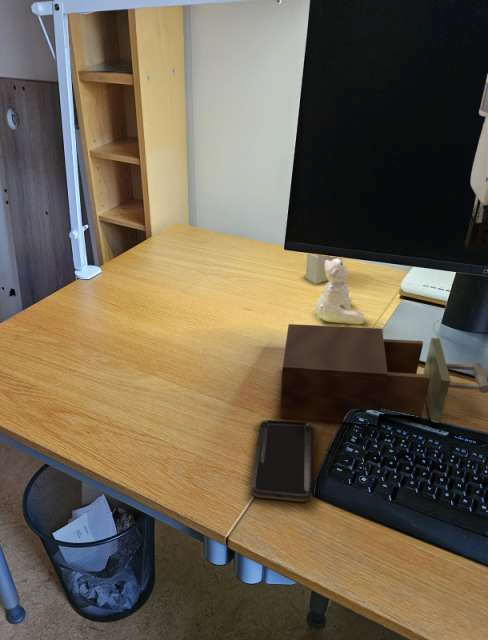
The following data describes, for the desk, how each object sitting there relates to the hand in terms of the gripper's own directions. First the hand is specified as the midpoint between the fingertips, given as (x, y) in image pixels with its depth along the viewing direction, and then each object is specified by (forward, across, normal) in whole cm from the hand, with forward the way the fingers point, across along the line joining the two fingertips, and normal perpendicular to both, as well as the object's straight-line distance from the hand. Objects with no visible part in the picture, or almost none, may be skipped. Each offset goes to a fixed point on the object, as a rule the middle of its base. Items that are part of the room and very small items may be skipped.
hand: (477, 248), depth 77 cm
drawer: (+22, -6, +6) cm, 24 cm away
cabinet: (+23, -6, +18) cm, 30 cm away
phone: (+23, -22, +24) cm, 40 cm away
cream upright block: (+23, +39, +20) cm, 50 cm away
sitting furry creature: (+23, +21, +17) cm, 36 cm away
